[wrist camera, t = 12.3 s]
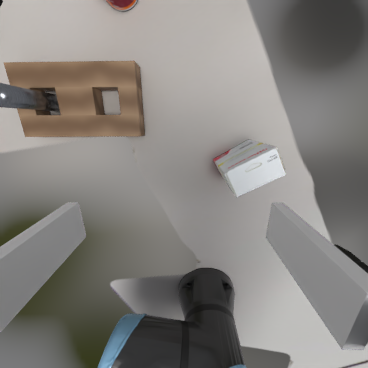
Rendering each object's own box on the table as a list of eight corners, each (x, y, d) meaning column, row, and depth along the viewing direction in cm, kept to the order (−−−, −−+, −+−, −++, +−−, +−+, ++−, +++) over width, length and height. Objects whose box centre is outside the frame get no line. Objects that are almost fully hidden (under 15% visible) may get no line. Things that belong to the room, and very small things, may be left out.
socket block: (144, 135, 36) (140, 136, 33) (39, 135, 37) (25, 136, 33) (139, 67, 32) (134, 61, 29) (22, 68, 33) (3, 62, 29)
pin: (68, 111, 35) (11, 106, 24) (53, 112, 35) (-10, 107, 24) (65, 95, 34) (4, 81, 23) (50, 95, 34) (-19, 81, 23)
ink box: (222, 177, 39) (235, 200, 28) (212, 158, 38) (222, 173, 26) (258, 159, 37) (288, 174, 26) (249, 138, 36) (277, 145, 25)
